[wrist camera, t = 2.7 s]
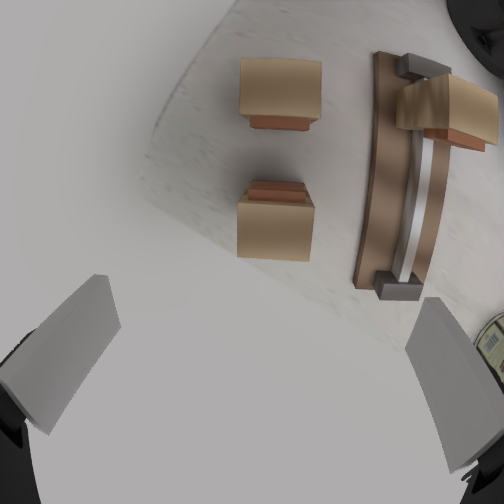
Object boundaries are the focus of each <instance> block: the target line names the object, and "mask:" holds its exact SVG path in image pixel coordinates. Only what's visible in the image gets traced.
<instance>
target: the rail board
mask: <svg viewBox="0 0 504 504" xmlns="http://www.w3.org/2000/svg"><path fill="white" fill-rule="evenodd" d="M448 73H449V74H451V75H452V73H451V68H450V67H448V66H445V65H443V64H440V63H437V62H435V61H432V60H429V59H426V58H423V57H420V56H417V55H414V54H411V53H407V54H405V55H403V56H402V57H400V56H397V55H393V54H389V53H385V52H381V51H378V52H376V53H375V54H374V74H375V99H374V129H373V145H372V158H371V170H370V179H369V188H368V197H367V204H366V212H365V219H364V225H363V232H362V238H361V244H360V249H359V255H358V260H357V265H356V270H355V275H354V280H353V284H354V286H355V289H368V290H375V292H376V294H377V296H378V298H379V300H397V301H419V298H420V295H421V292H422V289H423V286H424V281H425V278H426V275H427V272H428V268H429V265H430V261H431V257H432V254H433V250H434V246H435V242H436V237H437V233H438V229H439V224H440V219H441V214H442V209H443V203H444V197H445V191H446V184H447V177H448V169H449V159H450V148H451V145H449V144H446V143H442V142H439V141H435V140H431V139H427V138H423V131H424V130H406V129H401V128H397V127H396V99H397V90H398V89H400V88H403V87H406V86H409V85H412V84H415V83H418V82H421V81H425V80H428V79H431V78H434V77H438V76H441V75H444V74H448Z"/></svg>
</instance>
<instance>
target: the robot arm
mask: <svg viewBox="0 0 504 504" xmlns="http://www.w3.org/2000/svg"><path fill="white" fill-rule="evenodd" d="M447 4H448V9H449V12H450V15H451V18H452V20H453V23H454V25H455V27H456V29H457V31H458V32H459V34H460V36H461V37H462V39H463V41H464V42H465V44H466V45H467V46H468V48H469V49H470V50H471V52H472V53H473V54H474V56H475V57H476V58H477V59H478V60H479V61H480V62H481V63H482V64H483V65H484V66H485V67H486V68H487V69H488V70H489V71H490V72H492V73H493V74H494V75H496V76H498V77H499V78H501V79H504V0H447ZM120 328H121V325H120V322H119V318H118V315H117V311H116V307H115V304H114V300H113V296H112V292H111V287H110V283H109V279H108V276H105V275H96V274H94V275H93V276H92V277H91V278H89V279H88V280H87V281H86V282H85V283H84V284H83V285H82V286H81V287H80V288H78V289H77V290H76V291H75V292H74V293H73V294H72V295H71V296H70V297H69V298H67V299H66V300H65V301H64V302H63V303H62V304H61V305H60V306H59V307H58V308H57V309H56V310H55V311H54V312H53V313H52V314H51V315H50V316H49V317H48V318H47V319H46V320H45V321H44V322H43V323H42V324H41V325H40V326H39V327H38V328H36V329H35V330H33V331H31V332H30V333H28V334H27V335H26V336H25V337H24V338H23V339H22V340H21V341H20V344H17V346H16V347H15V348H14V350H12V351H11V352H10V353H9V354H8V355H7V357H6V358H5V359H4V360H3V361H2V362H1V363H0V504H41V501H40V498H39V494H38V490H37V486H36V481H35V476H34V471H33V466H32V460H31V453H30V446H29V437H28V429H27V425H26V423H25V422H24V421H25V419H26V418H27V419H28V420H29V421H30V422H31V423H32V424H33V425H34V427H36V428H37V429H39V430H41V431H42V432H44V433H45V434H47V435H49V434H50V432H51V431H52V429H53V428H54V426H55V424H56V423H57V421H58V419H59V418H60V416H61V415H62V413H63V411H64V409H65V408H66V407H67V405H68V403H69V402H70V400H71V399H72V397H73V396H74V394H75V393H76V391H77V390H78V388H79V387H80V385H81V383H82V382H83V381H84V379H85V378H86V376H87V375H88V373H89V372H90V370H91V369H92V367H93V366H94V364H95V363H96V362H97V360H98V358H99V357H100V356H101V354H102V353H103V352H104V350H105V349H106V347H107V346H108V345H109V343H110V342H111V340H112V339H113V338H114V336H115V335H116V334H117V332H118V331H119V330H120ZM405 350H406V352H407V354H408V356H409V359H410V361H411V363H412V365H413V368H414V370H415V373H416V375H417V377H418V380H419V382H420V385H421V387H422V390H423V392H424V395H425V398H426V400H427V403H428V406H429V408H430V411H431V414H432V417H433V419H434V422H435V425H436V428H437V431H438V434H439V437H440V440H441V443H442V447H443V450H444V453H445V457H446V460H447V464H448V467H449V471H450V474H452V473H455V472H457V471H460V470H462V469H465V468H467V467H468V466H469V465H471V463H473V462H474V461H475V460H478V463H479V464H478V465H476V466H475V467H474V468H473V469H471V470H470V471H469V472H467V473H466V474H465V475H464V476H463V477H462V479H461V480H462V481H464V480H465V479H466V478H467V477H469V476H470V475H472V476H471V478H469V479H468V480H467V481H466V482H467V483H469V484H468V486H467V489H466V491H465V493H464V496H463V498H462V500H461V502H460V504H504V383H503V382H501V378H500V376H499V375H498V373H497V371H496V370H495V369H494V368H493V367H492V366H491V365H490V364H489V363H488V362H487V361H486V362H484V360H483V359H482V357H481V356H480V354H479V352H478V351H477V349H476V348H475V346H474V345H473V343H472V342H471V340H470V339H469V337H468V336H467V335H466V333H465V332H464V330H463V329H462V327H461V326H460V325H459V323H458V322H457V320H456V319H455V318H454V316H453V315H452V314H451V312H450V311H449V310H448V308H447V307H446V306H445V304H444V303H443V302H442V300H441V299H440V298H439V297H425V299H424V302H423V305H422V308H421V310H420V313H419V316H418V318H417V321H416V323H415V326H414V328H413V331H412V333H411V336H410V338H409V340H408V343H407V345H406V347H405Z"/></svg>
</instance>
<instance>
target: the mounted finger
mask: <svg viewBox="0 0 504 504" xmlns="http://www.w3.org/2000/svg"><path fill="white" fill-rule="evenodd" d="M396 127H397V128H401V129H406V130H424V131H423V138H427V139H431V140H435V141H439V142H442V143H446V144H449V145H452V146H456V147H460V148H466V149H471V150H477V151H482V152H485V143H486V144H492V145H498V96H496V95H494V94H492V93H490V92H489V91H487V90H485V89H483V88H481V87H479V86H476V85H474V84H472V83H470V82H468V81H466V80H463V79H461V78H459V77H456V76H454V75H451V74H449V73H448V74H444V75H441V76H438V77H434V78H431V79H428V80H425V81H421V82H418V83H415V84H412V85H409V86H406V87H403V88H400V89H398V90H397V99H396Z"/></svg>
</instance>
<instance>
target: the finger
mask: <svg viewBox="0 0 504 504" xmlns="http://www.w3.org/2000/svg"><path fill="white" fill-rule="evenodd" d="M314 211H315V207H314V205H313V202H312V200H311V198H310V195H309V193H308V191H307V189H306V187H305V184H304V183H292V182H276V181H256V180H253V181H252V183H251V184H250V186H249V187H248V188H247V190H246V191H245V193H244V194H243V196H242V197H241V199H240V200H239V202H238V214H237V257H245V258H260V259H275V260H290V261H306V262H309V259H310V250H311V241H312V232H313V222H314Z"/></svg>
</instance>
